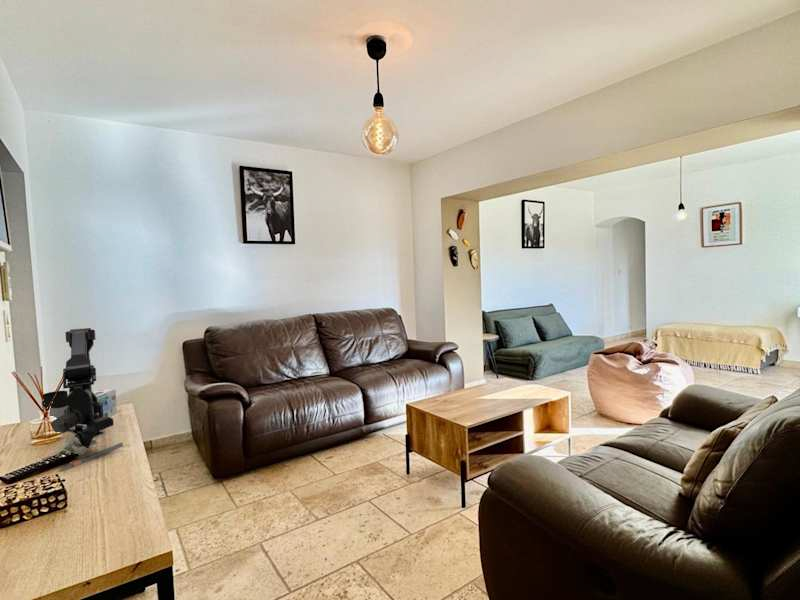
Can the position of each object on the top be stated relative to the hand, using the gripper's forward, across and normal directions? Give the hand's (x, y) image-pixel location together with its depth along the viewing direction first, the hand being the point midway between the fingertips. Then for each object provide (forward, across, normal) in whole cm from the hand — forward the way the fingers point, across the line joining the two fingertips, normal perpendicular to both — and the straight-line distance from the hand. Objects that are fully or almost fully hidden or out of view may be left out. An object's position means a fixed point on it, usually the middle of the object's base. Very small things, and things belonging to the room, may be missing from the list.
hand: (86, 448), depth 133 cm
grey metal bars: (+2, 0, -2) cm, 3 cm away
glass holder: (+2, -30, +14) cm, 33 cm away
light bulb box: (+2, -31, +29) cm, 43 cm away
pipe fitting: (0, 0, 0) cm, 1 cm away
